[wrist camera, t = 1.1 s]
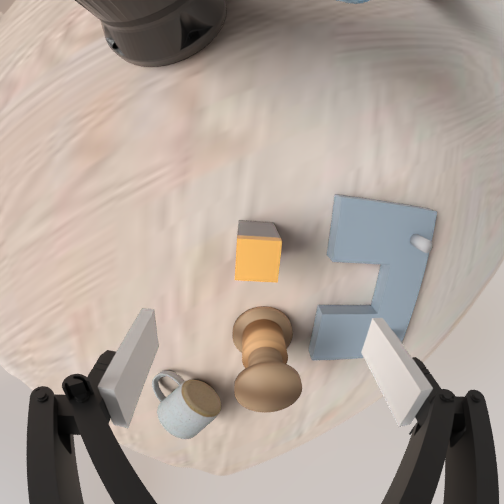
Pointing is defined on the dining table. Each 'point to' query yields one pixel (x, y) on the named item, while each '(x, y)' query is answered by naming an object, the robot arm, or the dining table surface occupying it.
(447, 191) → the dining table surface
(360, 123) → the dining table surface
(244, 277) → the orange and grey block
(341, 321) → the board
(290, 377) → the bobbin
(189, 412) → the ceramic mug
